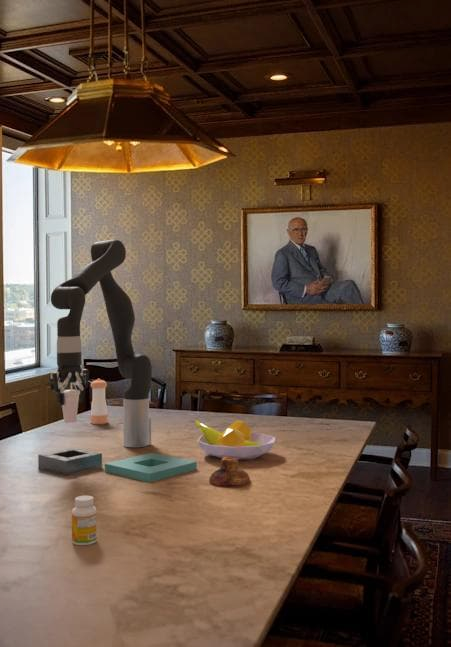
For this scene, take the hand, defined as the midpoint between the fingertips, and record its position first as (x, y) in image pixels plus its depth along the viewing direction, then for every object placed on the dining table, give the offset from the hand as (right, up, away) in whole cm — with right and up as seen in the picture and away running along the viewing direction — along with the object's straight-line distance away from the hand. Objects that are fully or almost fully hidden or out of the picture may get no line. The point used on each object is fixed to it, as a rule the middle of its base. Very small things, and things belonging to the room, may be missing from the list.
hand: (69, 403), depth 223 cm
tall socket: (0, -20, +1) cm, 20 cm away
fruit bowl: (+52, -20, +18) cm, 58 cm away
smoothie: (0, -6, 0) cm, 6 cm away
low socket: (+26, -20, -3) cm, 33 cm away
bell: (+50, -21, -17) cm, 57 cm away
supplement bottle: (+18, -23, -67) cm, 73 cm away
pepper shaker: (-6, -18, +83) cm, 85 cm away
